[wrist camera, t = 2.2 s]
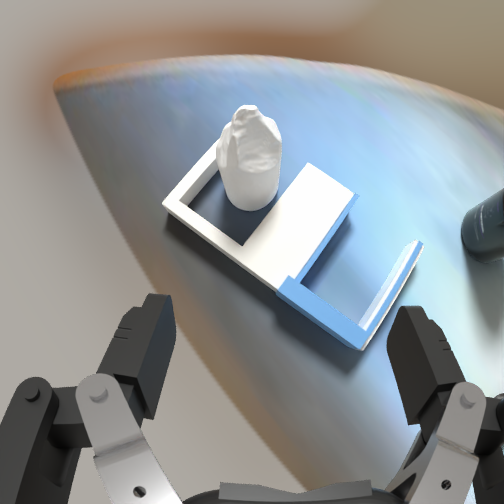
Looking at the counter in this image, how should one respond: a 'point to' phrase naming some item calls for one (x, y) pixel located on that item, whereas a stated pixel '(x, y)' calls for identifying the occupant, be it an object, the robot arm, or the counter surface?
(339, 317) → the white rail frame
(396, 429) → the counter surface
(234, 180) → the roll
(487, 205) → the supplement bottle
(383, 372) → the counter surface
